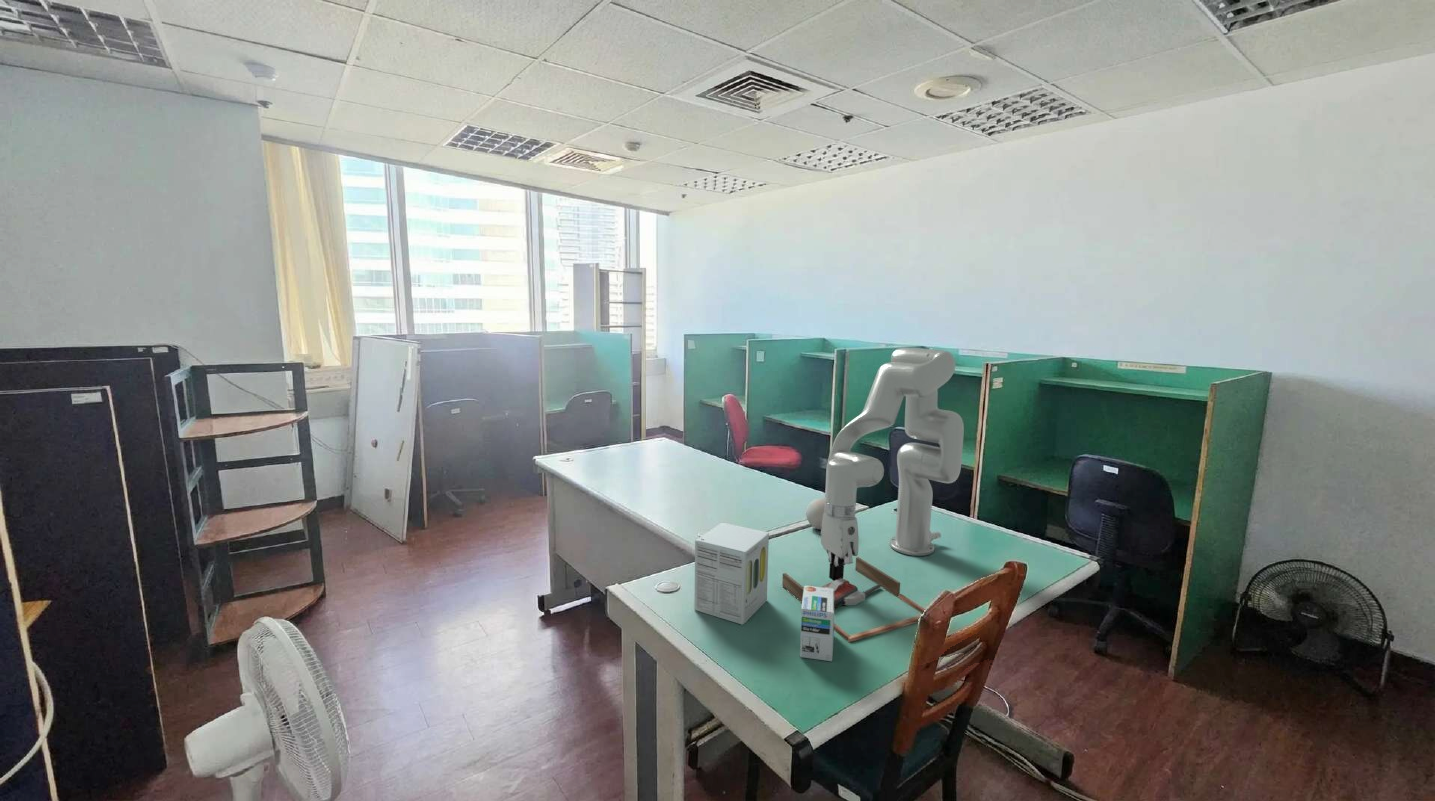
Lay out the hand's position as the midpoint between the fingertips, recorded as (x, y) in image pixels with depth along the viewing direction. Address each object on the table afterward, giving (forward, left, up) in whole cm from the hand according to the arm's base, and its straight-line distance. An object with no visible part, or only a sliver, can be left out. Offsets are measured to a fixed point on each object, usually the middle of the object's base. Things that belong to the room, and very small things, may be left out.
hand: (836, 578), depth 146 cm
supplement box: (+28, -4, -3) cm, 28 cm away
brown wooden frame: (0, +7, -3) cm, 8 cm away
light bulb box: (+19, +18, -3) cm, 26 cm away
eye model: (-20, -35, -3) cm, 40 cm away
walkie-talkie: (0, +4, -4) cm, 5 cm away
